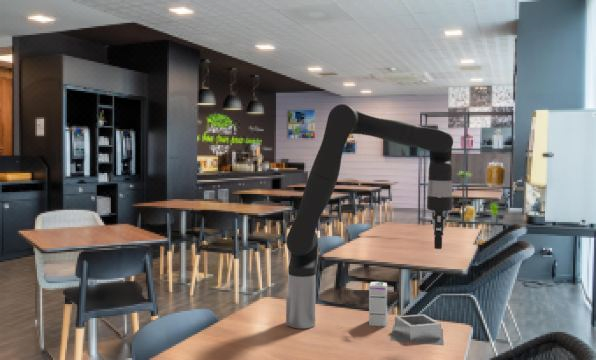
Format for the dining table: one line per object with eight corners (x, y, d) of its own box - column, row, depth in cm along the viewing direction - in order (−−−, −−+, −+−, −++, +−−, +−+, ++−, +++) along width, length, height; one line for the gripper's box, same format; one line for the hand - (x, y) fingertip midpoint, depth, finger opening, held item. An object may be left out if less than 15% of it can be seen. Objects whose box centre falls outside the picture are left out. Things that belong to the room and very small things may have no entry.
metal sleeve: (410, 341, 158) (410, 326, 158) (394, 330, 168) (394, 316, 168) (440, 338, 161) (441, 323, 161) (423, 327, 171) (424, 314, 171)
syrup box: (386, 330, 172) (387, 286, 172) (368, 328, 173) (368, 285, 173) (387, 324, 178) (387, 282, 177) (369, 323, 179) (370, 281, 178)
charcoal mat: (390, 344, 159) (390, 340, 159) (393, 328, 174) (393, 324, 174) (443, 349, 155) (443, 345, 155) (442, 332, 170) (442, 328, 170)
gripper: (427, 193, 172) (425, 242, 173) (426, 196, 159) (425, 249, 159) (451, 193, 171) (449, 243, 171) (452, 197, 157) (451, 251, 157)
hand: (437, 246), depth 165 cm, fingers open, 8 cm apart
